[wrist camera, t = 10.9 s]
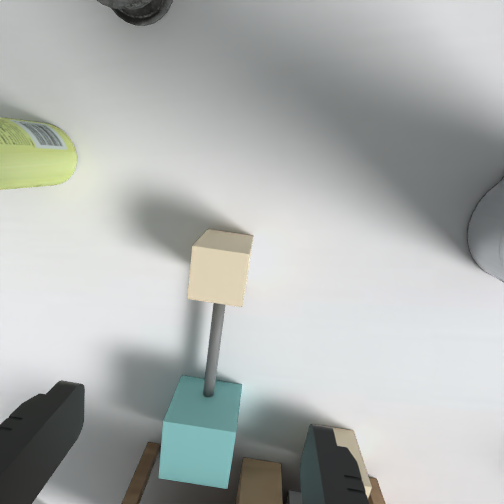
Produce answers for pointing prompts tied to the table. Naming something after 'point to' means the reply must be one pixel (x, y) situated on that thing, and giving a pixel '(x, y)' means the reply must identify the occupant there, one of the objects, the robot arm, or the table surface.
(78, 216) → the table surface
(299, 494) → the beige cube-topped post
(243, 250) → the teal and cream dumbbell
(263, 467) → the walnut shelf
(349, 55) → the table surface
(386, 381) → the table surface
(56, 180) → the tube
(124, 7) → the salt shaker
